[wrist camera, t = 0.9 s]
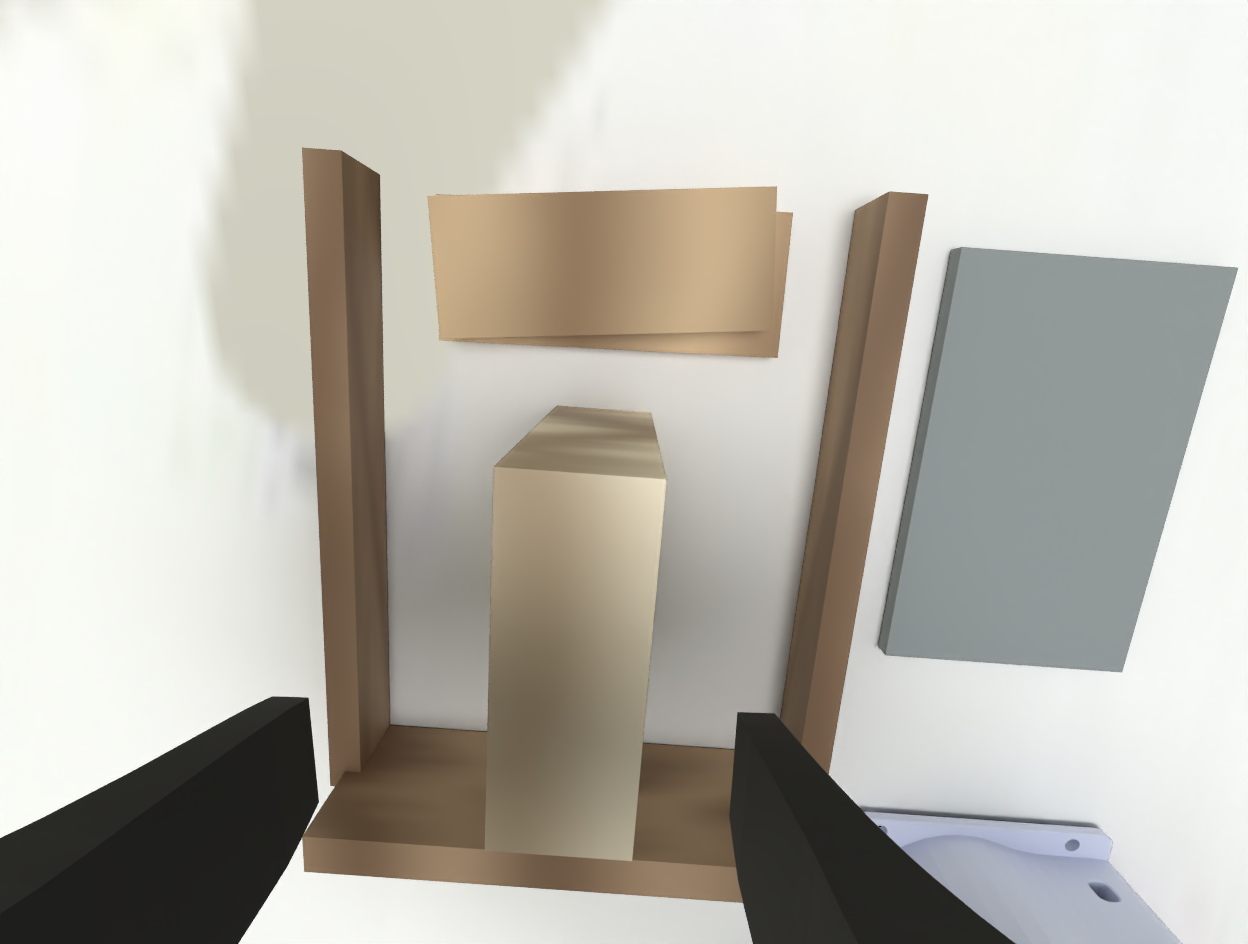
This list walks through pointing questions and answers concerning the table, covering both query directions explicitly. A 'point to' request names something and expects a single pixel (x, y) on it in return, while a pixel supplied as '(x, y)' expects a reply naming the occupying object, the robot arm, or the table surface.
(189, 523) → the table surface
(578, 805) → the light wood block
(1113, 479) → the slate mat
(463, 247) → the upper oak offcut
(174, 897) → the robot arm
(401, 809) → the walnut rack
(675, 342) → the lower oak offcut
